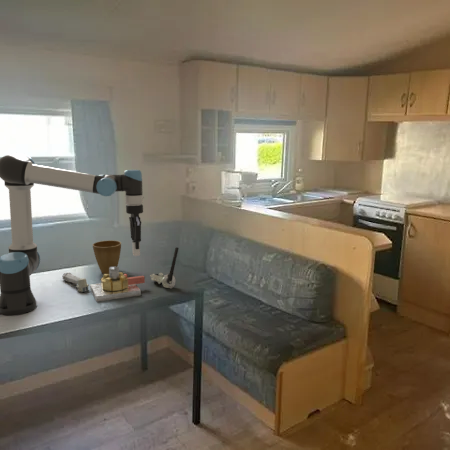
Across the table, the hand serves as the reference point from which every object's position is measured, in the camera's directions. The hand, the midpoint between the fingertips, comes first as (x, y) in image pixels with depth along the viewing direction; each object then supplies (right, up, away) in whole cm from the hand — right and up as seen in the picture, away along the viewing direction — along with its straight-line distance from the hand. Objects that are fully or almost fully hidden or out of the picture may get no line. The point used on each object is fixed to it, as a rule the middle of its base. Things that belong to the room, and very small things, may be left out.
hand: (136, 254), depth 212 cm
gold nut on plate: (-11, -18, +5) cm, 21 cm away
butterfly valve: (+10, -16, +16) cm, 25 cm away
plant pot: (-22, -12, +36) cm, 44 cm away
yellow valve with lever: (-7, -15, +6) cm, 17 cm away
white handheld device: (-33, -17, +15) cm, 39 cm away
